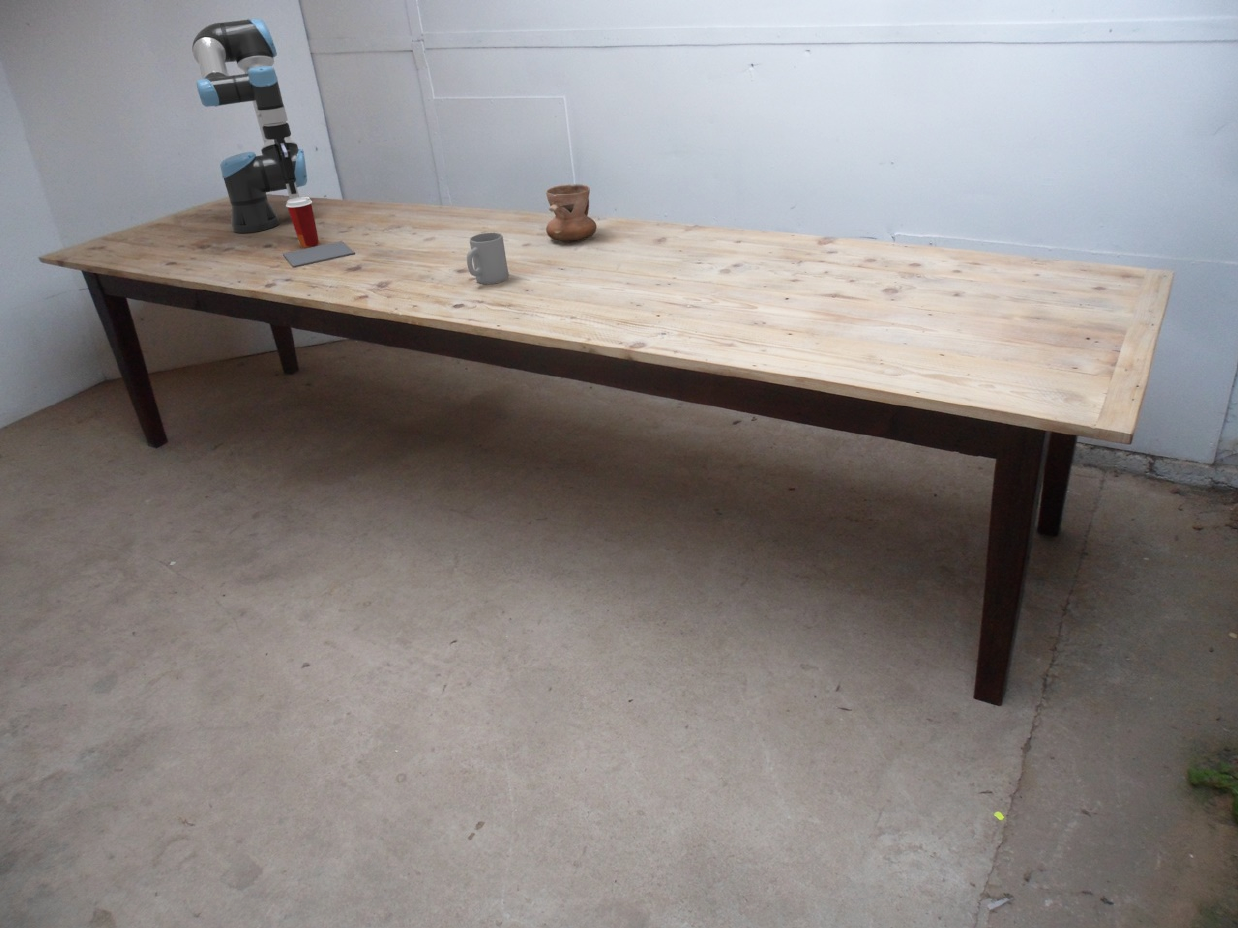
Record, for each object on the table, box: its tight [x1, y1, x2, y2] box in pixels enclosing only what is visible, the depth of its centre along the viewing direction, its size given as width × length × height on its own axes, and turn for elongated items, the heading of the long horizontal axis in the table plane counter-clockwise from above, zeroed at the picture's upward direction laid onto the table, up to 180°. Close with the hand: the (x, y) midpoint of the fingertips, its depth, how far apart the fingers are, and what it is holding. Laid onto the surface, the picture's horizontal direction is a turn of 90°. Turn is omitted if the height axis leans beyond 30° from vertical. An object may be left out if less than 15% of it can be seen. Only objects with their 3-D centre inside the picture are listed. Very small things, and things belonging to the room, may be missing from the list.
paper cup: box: [285, 196, 320, 249], centre depth 277 cm, size 8×8×14 cm
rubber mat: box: [282, 240, 356, 268], centre depth 271 cm, size 16×18×1 cm
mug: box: [466, 232, 509, 285], centre depth 233 cm, size 12×8×11 cm
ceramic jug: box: [545, 183, 597, 243], centre depth 259 cm, size 18×14×14 cm
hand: (296, 204), depth 280 cm, fingers closed
